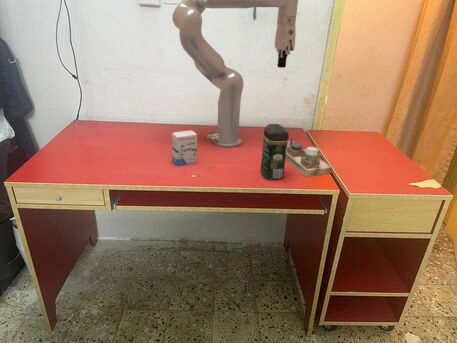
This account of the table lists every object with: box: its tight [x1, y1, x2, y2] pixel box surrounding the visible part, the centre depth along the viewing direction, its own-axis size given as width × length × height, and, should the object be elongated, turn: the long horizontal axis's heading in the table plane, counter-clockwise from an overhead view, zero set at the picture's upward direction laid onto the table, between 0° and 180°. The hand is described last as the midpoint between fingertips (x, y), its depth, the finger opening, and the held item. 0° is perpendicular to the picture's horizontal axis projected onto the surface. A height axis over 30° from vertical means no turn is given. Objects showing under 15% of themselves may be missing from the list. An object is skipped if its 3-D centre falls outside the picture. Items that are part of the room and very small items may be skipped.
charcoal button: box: [291, 141, 303, 151], centre depth 137 cm, size 4×4×4 cm
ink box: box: [171, 130, 198, 166], centre depth 130 cm, size 9×5×12 cm, turn 117°
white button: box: [306, 146, 319, 153], centre depth 133 cm, size 4×4×4 cm
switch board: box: [285, 146, 333, 178], centre depth 134 cm, size 11×18×5 cm, turn 19°
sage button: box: [305, 150, 319, 162], centre depth 127 cm, size 4×4×4 cm
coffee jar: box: [260, 123, 289, 180], centre depth 122 cm, size 10×8×19 cm
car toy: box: [286, 136, 295, 148], centre depth 156 cm, size 15×7×4 cm, turn 161°
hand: (281, 67), depth 148 cm, fingers closed
